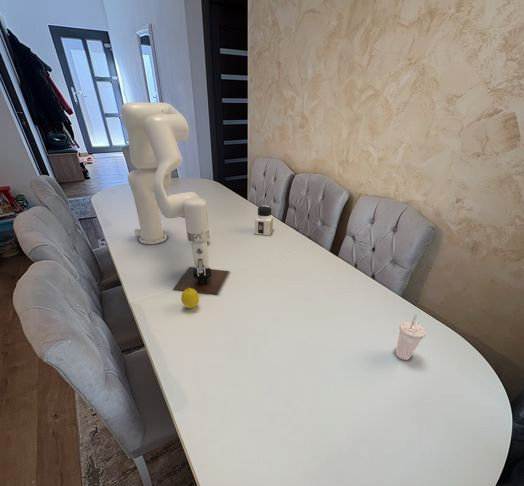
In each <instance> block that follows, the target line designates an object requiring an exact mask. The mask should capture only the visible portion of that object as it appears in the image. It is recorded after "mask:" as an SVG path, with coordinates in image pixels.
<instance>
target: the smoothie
mask: <svg viewBox="0 0 524 486" xmlns="http://www.w3.org/2000/svg"><path fill="white" fill-rule="evenodd" d="M417 317H418V315H417V314H414V315H413V317H412V320H405V321H402V322H401V323H400V324H399V326H398V330H399V331H398V332H399V333H398V339H397V344H396V350H395V356H397V358H399V359H400V360H403V361H407V360H410V358H411V357H412V355H413V354H414V352H415V351H416V349H417V347H418V345H419V344H420V342H421V340H422V339H424V338H426V333H427V331H426V328H424V326H423V325H421V324H420V323H419V322H417V321H416V320H417Z"/></svg>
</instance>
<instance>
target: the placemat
mask: <svg viewBox="0 0 524 486" xmlns="http://www.w3.org/2000/svg"><path fill="white" fill-rule="evenodd" d="M194 268H195V266H189V267H188V269H187V270H186V272H185V273H184V274H183V275H182V277H181V278H180V279H179V280H178V282H177V283H176V285H175V286H174V287H173V290H174V291H184V290H186V289H187V288H191V289H194V290H196V292H197V293H198V294H207V295H215V296H217V295H218V294H219V292H220V291H221V288H222V286H223V285H224V283H225V281H226V278H227V276H228V274H229V273H230V272H229V270H223V269H222V270H221V269H213V268H210V269H211V276H210V277H209V278H207V285H198V279H196V278H194V277H193V269H194Z"/></svg>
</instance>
